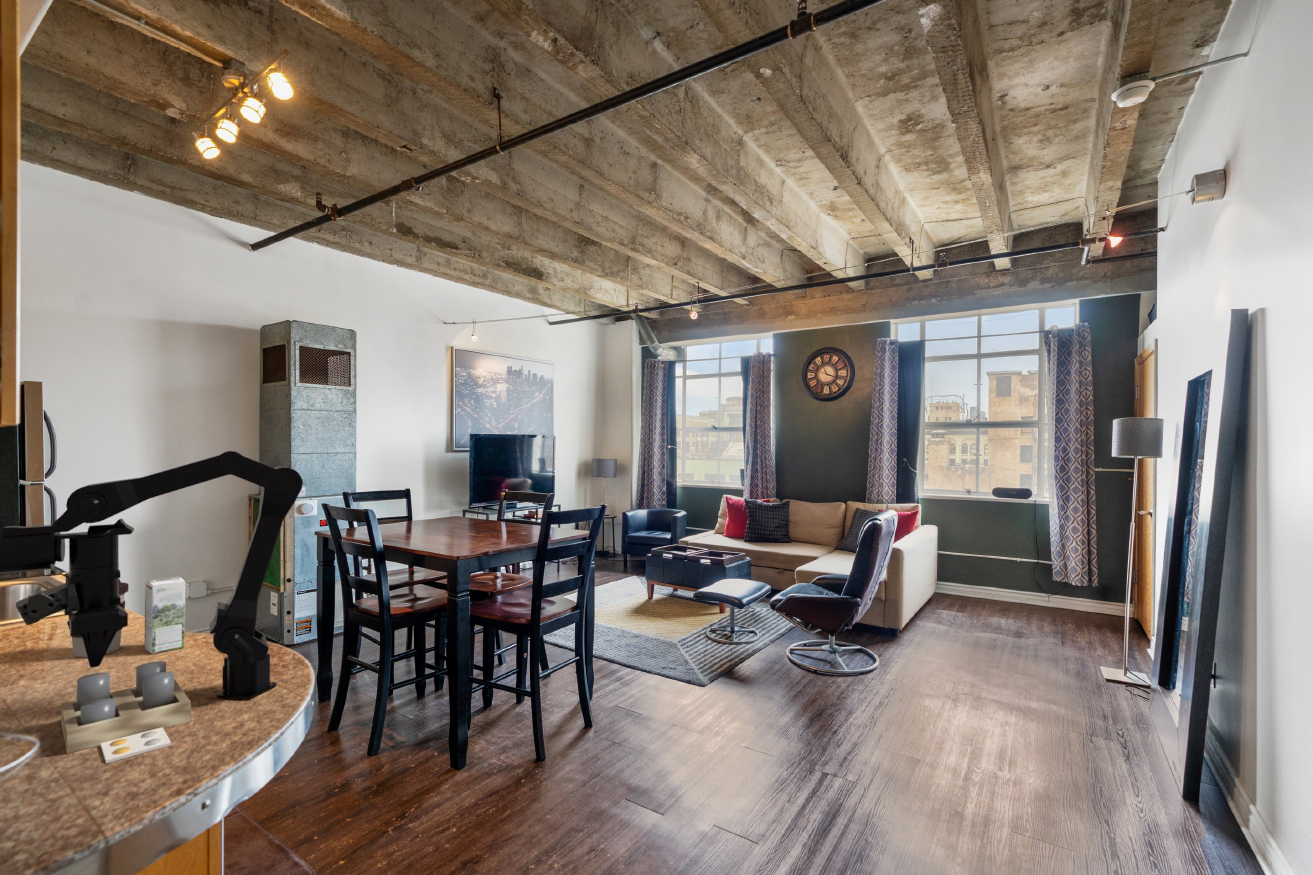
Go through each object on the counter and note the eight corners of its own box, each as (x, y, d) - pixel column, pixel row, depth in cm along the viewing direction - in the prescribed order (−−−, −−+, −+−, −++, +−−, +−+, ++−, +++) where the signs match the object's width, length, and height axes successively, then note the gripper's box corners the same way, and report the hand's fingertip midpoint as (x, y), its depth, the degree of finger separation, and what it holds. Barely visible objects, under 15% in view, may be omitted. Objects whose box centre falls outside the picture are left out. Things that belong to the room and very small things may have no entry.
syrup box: (177, 642, 136) (177, 575, 136) (185, 647, 132) (185, 579, 133) (144, 649, 132) (144, 580, 132) (151, 655, 128) (151, 583, 128)
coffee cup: (90, 661, 124) (90, 585, 124) (50, 658, 126) (51, 583, 126) (140, 645, 134) (140, 575, 134) (103, 643, 136) (103, 573, 136)
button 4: (171, 695, 100) (171, 669, 100) (176, 702, 97) (176, 675, 97) (140, 702, 97) (141, 676, 97) (144, 710, 94) (144, 682, 94)
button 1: (108, 696, 100) (108, 670, 100) (111, 703, 97) (111, 676, 97) (76, 703, 97) (76, 677, 97) (77, 710, 94) (77, 683, 94)
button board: (174, 696, 107) (174, 678, 107) (190, 721, 97) (190, 701, 97) (61, 722, 97) (61, 703, 97) (66, 753, 87) (66, 731, 87)
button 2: (113, 723, 95) (113, 696, 95) (116, 731, 92) (116, 703, 92) (79, 731, 92) (79, 703, 92) (81, 740, 89) (81, 711, 89)
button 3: (164, 684, 105) (164, 659, 105) (168, 690, 102) (168, 664, 102) (134, 690, 102) (134, 665, 102) (137, 697, 99) (138, 671, 99)
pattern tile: (162, 729, 94) (162, 725, 94) (171, 745, 89) (171, 741, 89) (100, 745, 89) (100, 742, 89) (105, 763, 84) (105, 759, 84)
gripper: (19, 565, 98) (20, 665, 98) (20, 583, 85) (21, 698, 85) (113, 555, 106) (114, 648, 106) (128, 570, 93) (128, 676, 93)
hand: (94, 666), depth 97 cm, fingers closed
